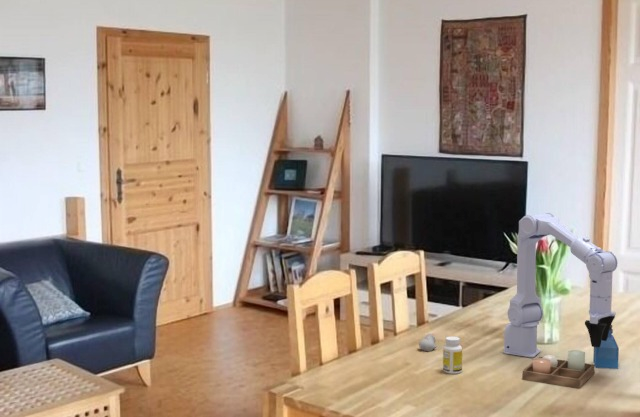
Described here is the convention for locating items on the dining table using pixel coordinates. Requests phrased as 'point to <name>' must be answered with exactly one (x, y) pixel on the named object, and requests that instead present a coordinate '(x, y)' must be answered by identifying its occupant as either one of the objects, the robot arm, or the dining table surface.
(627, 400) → the dining table surface
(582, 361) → the sage green cylinder
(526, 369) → the wooden compartment tray
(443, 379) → the dining table surface
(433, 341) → the smooth white sculpture
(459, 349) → the supplement bottle
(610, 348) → the perfume bottle
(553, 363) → the egg
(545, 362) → the pink rounded cylinder
